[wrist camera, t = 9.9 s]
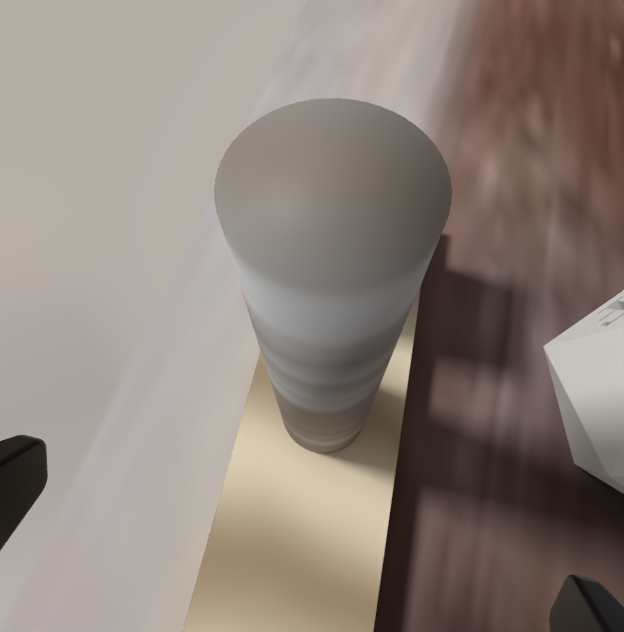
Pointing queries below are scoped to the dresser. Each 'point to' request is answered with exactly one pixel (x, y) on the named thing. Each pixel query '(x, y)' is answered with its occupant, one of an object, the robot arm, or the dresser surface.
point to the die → (593, 390)
